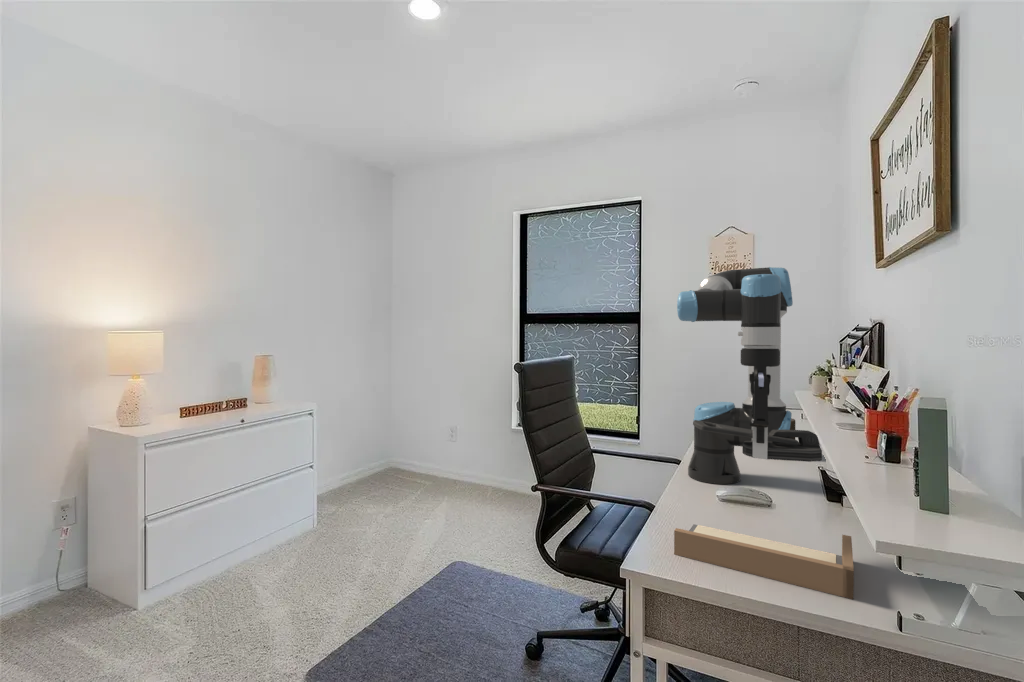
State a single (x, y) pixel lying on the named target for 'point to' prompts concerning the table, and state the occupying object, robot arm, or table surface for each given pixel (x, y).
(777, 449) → the zipper pull
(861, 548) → the table surface
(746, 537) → the tray
